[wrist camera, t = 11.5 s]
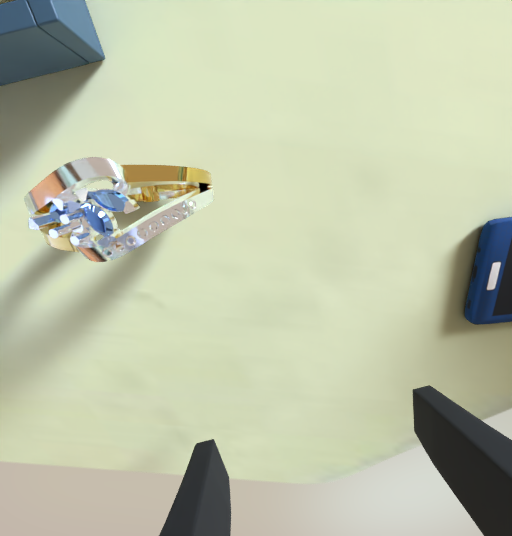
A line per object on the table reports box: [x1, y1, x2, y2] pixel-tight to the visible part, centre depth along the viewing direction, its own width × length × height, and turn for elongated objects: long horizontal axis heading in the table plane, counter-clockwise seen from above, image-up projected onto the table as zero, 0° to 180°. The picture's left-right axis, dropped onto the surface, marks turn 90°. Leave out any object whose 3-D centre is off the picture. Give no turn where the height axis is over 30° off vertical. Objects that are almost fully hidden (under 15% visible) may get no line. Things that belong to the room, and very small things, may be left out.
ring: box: [24, 157, 214, 262], centre depth 12 cm, size 7×3×8 cm, turn 94°
